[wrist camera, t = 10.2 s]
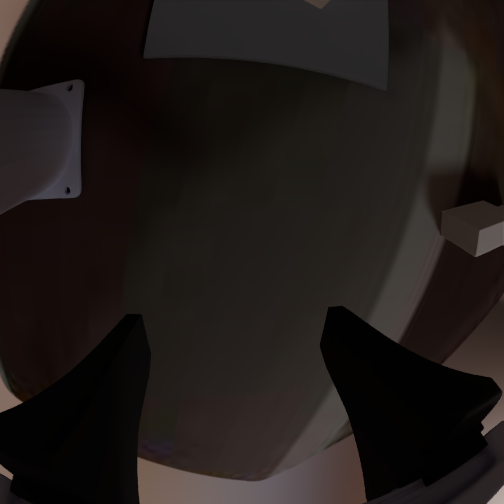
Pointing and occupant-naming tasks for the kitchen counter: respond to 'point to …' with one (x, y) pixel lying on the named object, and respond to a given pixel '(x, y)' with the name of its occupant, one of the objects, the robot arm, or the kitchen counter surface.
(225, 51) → the rubber mat
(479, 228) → the napkin holder
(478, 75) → the kitchen counter surface
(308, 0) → the card box
